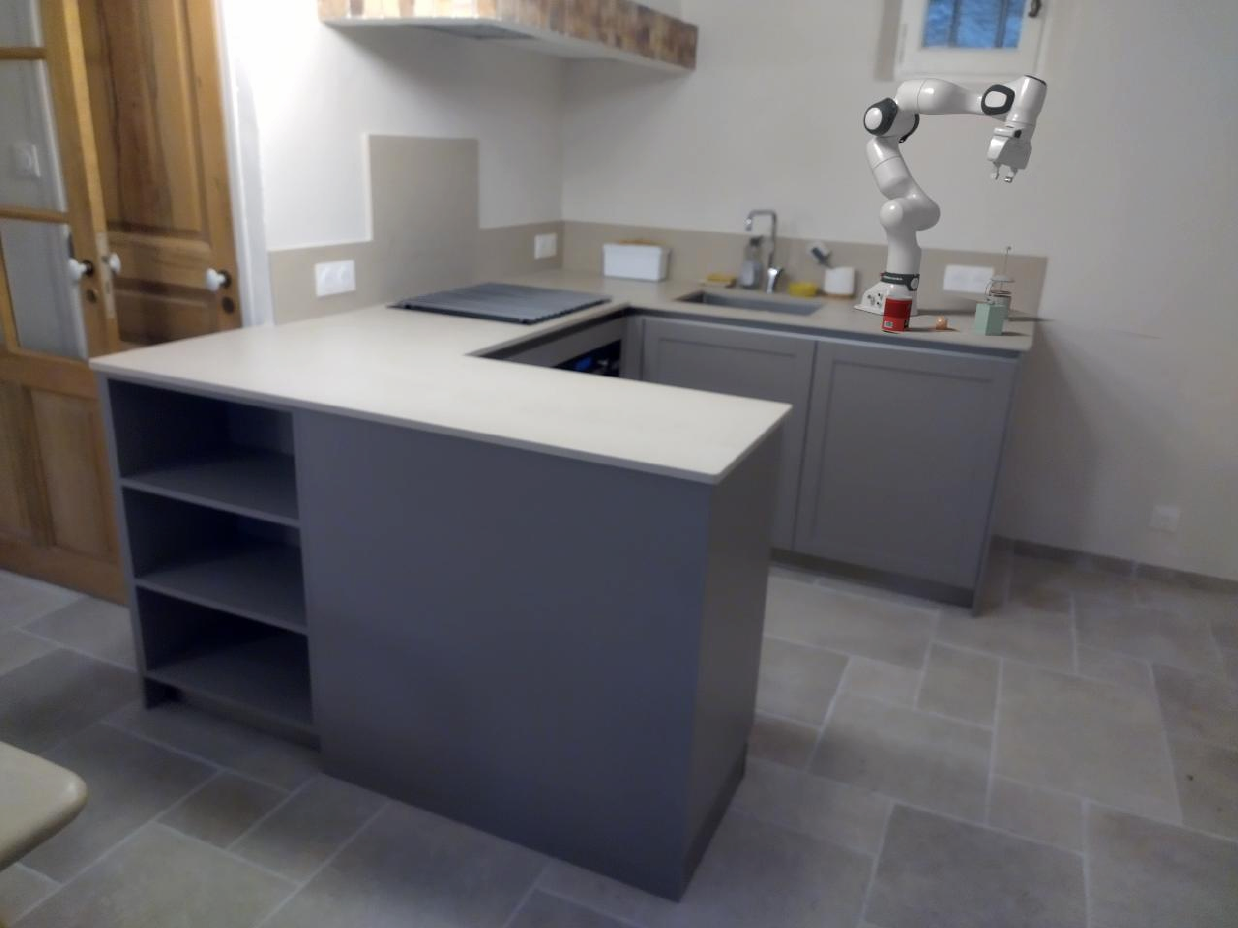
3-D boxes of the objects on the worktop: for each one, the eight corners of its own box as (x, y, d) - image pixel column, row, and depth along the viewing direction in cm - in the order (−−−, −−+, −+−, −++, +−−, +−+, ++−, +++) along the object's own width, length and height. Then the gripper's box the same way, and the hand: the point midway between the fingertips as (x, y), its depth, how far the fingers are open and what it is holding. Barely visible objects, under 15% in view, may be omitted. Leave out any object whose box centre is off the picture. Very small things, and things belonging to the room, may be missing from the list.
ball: (933, 328, 288) (935, 317, 286) (939, 327, 289) (941, 316, 288) (942, 330, 285) (943, 319, 284) (948, 329, 287) (950, 318, 286)
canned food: (909, 334, 280) (914, 299, 276) (882, 332, 281) (887, 297, 277) (906, 330, 287) (911, 295, 283) (880, 328, 288) (885, 293, 284)
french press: (992, 322, 310) (1005, 247, 302) (971, 316, 320) (983, 243, 312) (1016, 322, 312) (1030, 247, 304) (995, 316, 323) (1007, 244, 315)
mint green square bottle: (972, 332, 285) (977, 299, 282) (988, 331, 287) (993, 299, 284) (984, 335, 280) (990, 302, 276) (1001, 335, 282) (1006, 302, 278)
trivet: (919, 329, 290) (920, 326, 290) (943, 328, 293) (944, 326, 293) (937, 334, 282) (937, 331, 282) (961, 334, 285) (961, 331, 285)
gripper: (1022, 137, 284) (1006, 182, 288) (992, 127, 270) (976, 174, 275) (1041, 140, 279) (1025, 186, 284) (1011, 130, 266) (995, 178, 271)
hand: (1000, 180), depth 279 cm, fingers open, 8 cm apart
